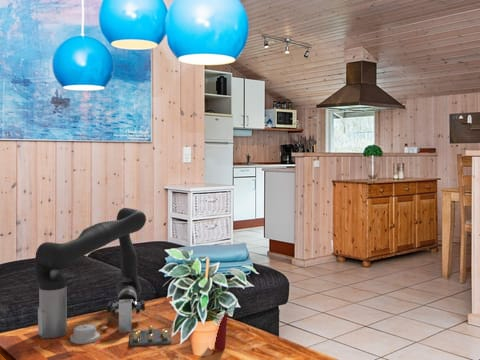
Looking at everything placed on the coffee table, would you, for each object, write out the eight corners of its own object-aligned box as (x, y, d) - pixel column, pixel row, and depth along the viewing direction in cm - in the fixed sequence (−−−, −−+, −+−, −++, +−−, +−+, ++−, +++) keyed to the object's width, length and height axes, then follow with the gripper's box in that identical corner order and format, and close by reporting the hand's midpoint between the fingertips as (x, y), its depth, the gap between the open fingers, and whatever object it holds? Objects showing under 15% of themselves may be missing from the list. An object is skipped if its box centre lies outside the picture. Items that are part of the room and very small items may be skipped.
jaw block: (118, 332, 184) (118, 303, 183) (119, 328, 188) (119, 299, 188) (131, 332, 185) (131, 302, 184) (131, 328, 189) (131, 299, 189)
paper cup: (230, 344, 174) (230, 304, 173) (224, 353, 166) (225, 311, 165) (208, 342, 175) (208, 302, 175) (202, 350, 168) (202, 309, 167)
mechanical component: (84, 332, 185) (63, 341, 176) (84, 320, 185) (63, 329, 176) (105, 337, 180) (85, 346, 171) (105, 325, 180) (85, 334, 171)
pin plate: (129, 346, 171) (129, 334, 171) (130, 333, 183) (130, 323, 183) (171, 343, 174) (171, 332, 174) (169, 331, 186) (169, 321, 185)
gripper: (109, 291, 204) (106, 302, 188) (145, 289, 206) (144, 301, 190) (109, 309, 204) (106, 322, 188) (145, 307, 207) (144, 320, 191)
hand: (125, 311), depth 189 cm, fingers open, 8 cm apart
